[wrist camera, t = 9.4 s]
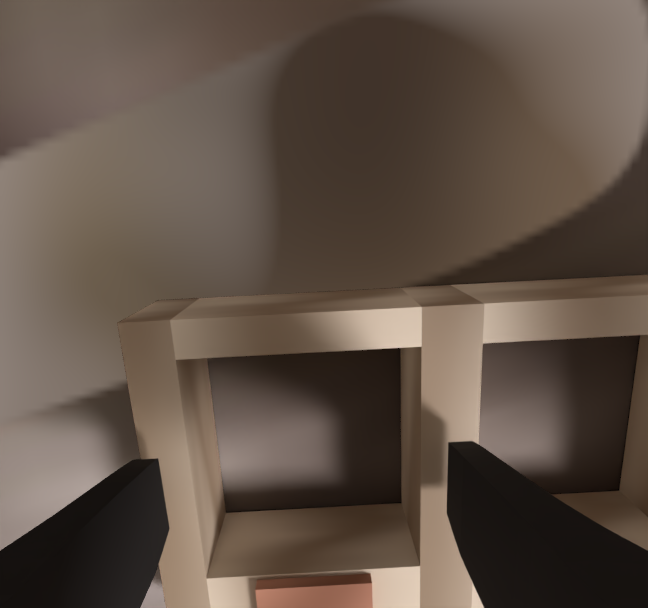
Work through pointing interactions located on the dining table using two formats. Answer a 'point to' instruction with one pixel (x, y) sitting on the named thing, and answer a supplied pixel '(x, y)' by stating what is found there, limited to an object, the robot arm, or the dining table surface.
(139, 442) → the slot rack
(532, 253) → the dining table surface
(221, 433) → the dining table surface
